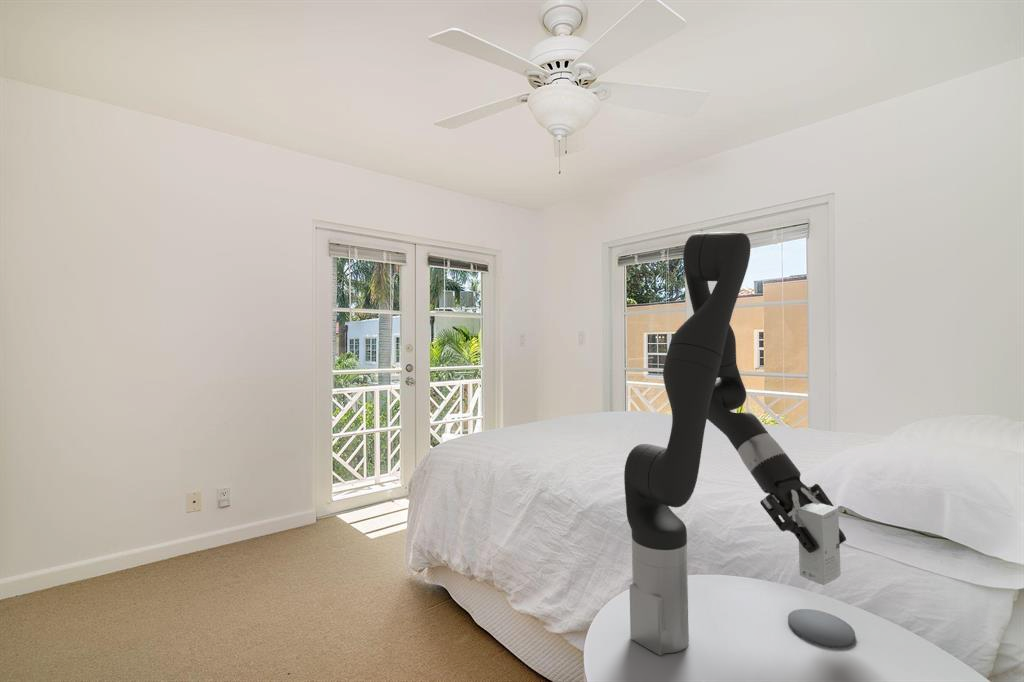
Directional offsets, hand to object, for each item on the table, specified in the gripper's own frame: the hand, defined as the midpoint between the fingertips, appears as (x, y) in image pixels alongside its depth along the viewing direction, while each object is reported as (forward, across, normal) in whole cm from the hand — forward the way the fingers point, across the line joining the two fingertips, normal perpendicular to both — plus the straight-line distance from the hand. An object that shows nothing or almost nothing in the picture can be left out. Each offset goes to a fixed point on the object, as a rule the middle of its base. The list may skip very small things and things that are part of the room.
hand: (828, 546), depth 84 cm
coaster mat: (+10, 0, +12) cm, 15 cm away
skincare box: (+3, 0, +6) cm, 6 cm away
